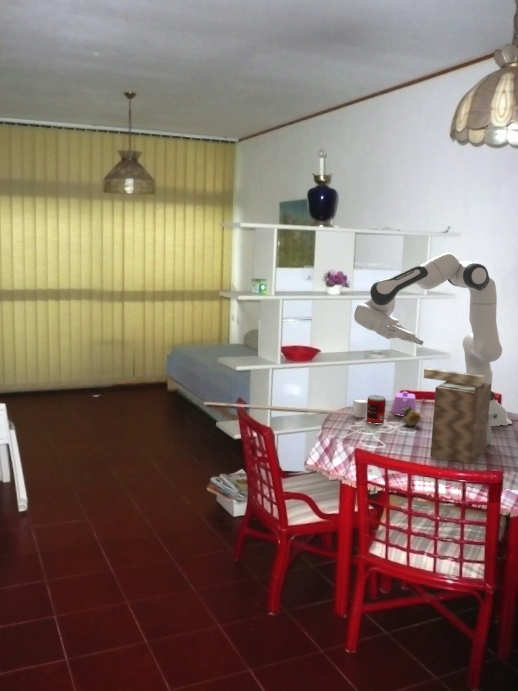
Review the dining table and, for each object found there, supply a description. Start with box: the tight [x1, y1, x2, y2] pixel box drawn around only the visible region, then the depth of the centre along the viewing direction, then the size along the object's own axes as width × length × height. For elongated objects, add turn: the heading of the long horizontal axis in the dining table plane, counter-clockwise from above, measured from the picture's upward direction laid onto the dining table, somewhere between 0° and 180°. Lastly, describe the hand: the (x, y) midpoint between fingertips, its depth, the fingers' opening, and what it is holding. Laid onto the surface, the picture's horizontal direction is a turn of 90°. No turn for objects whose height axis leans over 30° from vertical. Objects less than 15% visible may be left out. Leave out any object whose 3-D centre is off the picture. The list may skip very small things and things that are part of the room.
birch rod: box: [423, 367, 485, 386], centre depth 257 cm, size 22×4×4 cm, turn 58°
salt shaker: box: [486, 412, 493, 447], centre depth 265 cm, size 6×6×13 cm
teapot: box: [392, 391, 417, 415], centre depth 309 cm, size 18×10×10 cm, turn 167°
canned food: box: [366, 394, 387, 424], centre depth 293 cm, size 8×8×11 cm
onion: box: [401, 407, 422, 427], centre depth 289 cm, size 8×8×8 cm
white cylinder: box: [352, 398, 368, 418], centre depth 302 cm, size 7×7×7 cm
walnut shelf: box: [430, 381, 492, 465], centre depth 252 cm, size 15×20×28 cm
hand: (420, 342), depth 271 cm, fingers open, 8 cm apart
